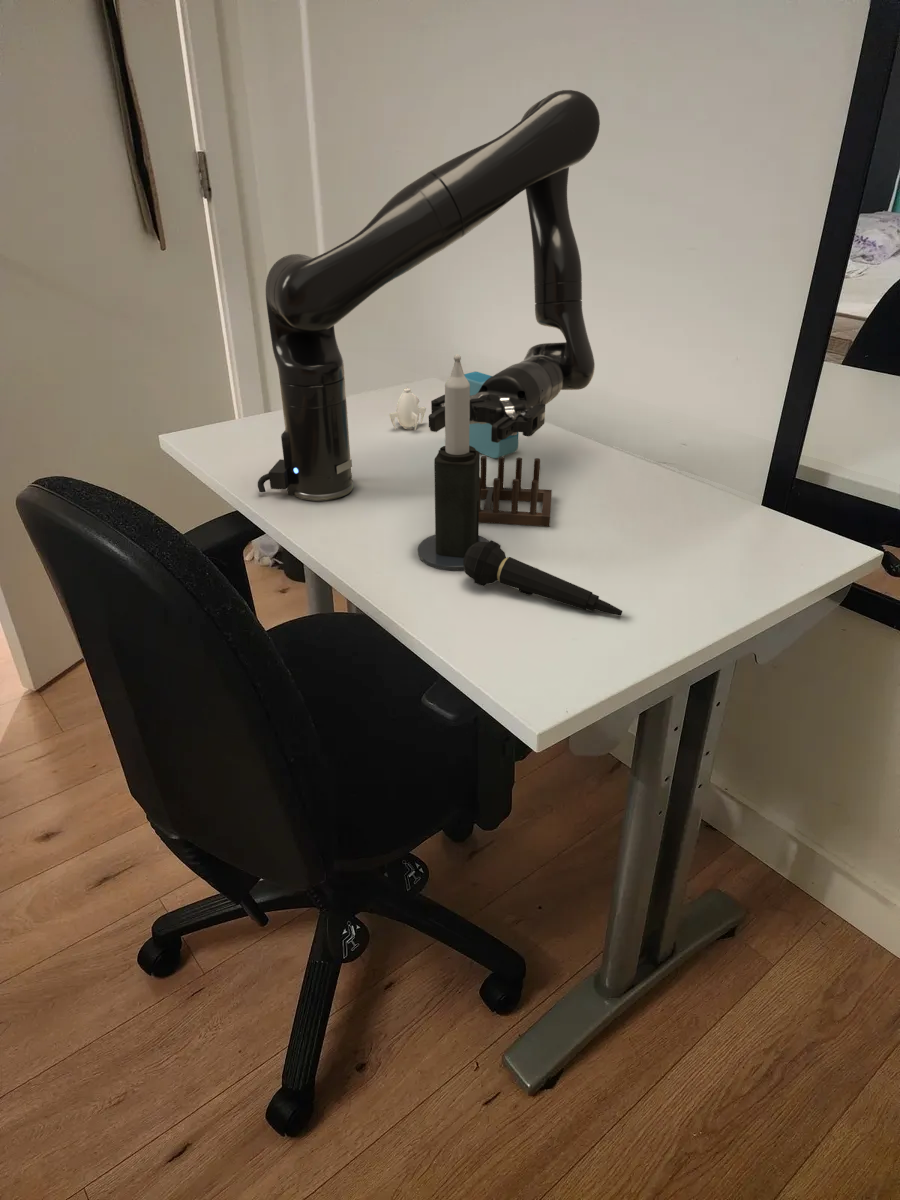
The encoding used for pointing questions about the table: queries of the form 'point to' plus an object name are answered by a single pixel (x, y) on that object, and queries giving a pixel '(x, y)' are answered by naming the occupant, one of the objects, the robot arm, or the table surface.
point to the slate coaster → (438, 561)
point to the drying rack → (513, 497)
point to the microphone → (527, 578)
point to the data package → (487, 427)
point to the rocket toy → (408, 410)
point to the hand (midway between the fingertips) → (462, 429)
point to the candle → (456, 473)
